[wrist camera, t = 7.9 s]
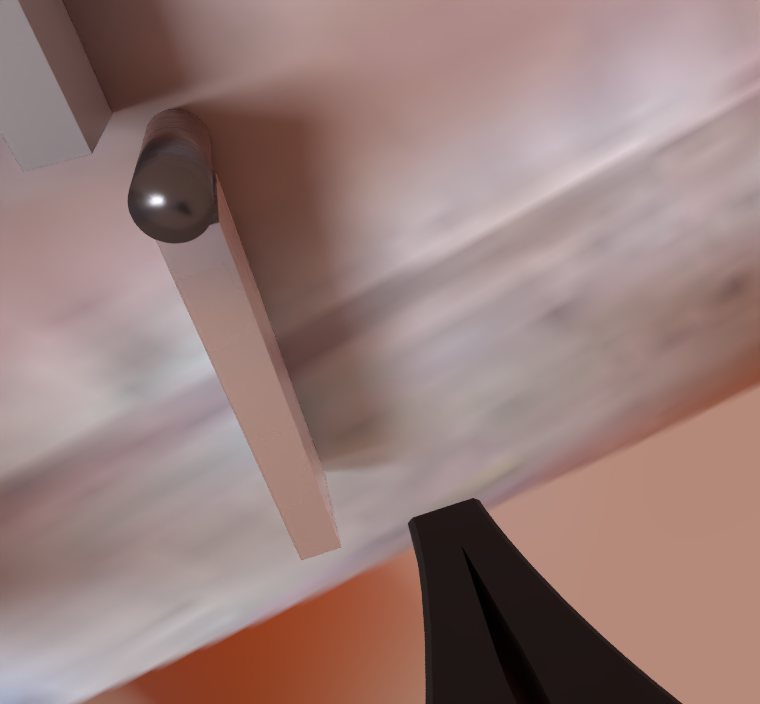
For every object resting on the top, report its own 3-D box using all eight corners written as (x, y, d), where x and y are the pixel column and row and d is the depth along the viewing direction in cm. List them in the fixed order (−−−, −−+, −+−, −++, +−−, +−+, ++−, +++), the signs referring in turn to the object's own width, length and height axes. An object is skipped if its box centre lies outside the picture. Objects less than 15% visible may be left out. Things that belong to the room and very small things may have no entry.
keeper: (135, 118, 13) (112, 177, 10) (197, 102, 13) (196, 155, 10) (284, 474, 20) (300, 576, 17) (324, 461, 20) (347, 560, 17)
